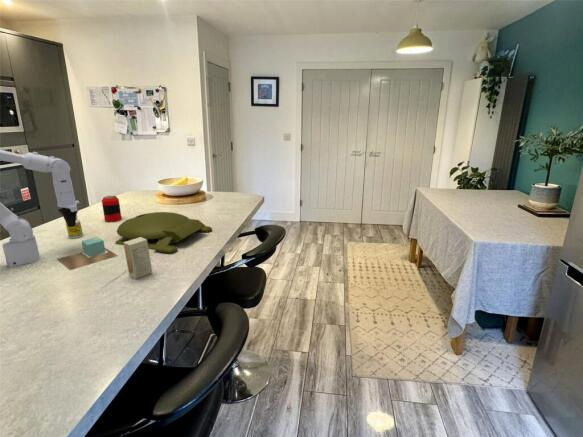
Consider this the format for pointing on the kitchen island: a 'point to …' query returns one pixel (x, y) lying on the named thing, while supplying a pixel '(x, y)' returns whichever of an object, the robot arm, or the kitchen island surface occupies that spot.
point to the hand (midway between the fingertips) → (71, 226)
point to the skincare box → (137, 257)
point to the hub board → (84, 259)
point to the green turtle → (160, 229)
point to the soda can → (111, 209)
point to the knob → (93, 246)
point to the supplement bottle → (75, 230)
